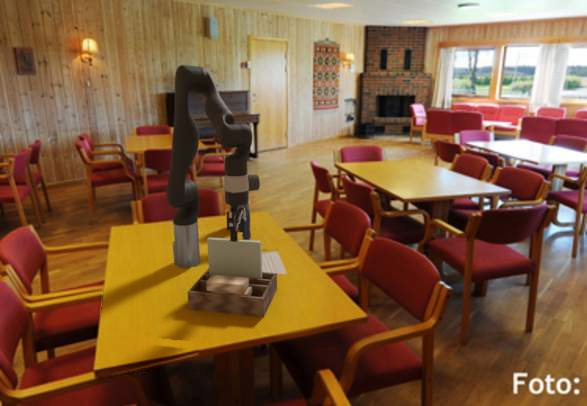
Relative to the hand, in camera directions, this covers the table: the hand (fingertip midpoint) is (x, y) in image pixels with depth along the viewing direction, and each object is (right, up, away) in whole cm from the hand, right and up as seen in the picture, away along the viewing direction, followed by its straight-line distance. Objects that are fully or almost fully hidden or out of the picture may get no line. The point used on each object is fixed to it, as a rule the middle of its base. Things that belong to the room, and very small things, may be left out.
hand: (238, 236), depth 142 cm
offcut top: (-2, -16, -6) cm, 17 cm away
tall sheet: (-1, -18, +6) cm, 19 cm away
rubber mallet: (-3, -6, +56) cm, 57 cm away
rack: (-1, -22, 0) cm, 22 cm away
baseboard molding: (+9, -15, +25) cm, 31 cm away
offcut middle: (-1, -19, -6) cm, 19 cm away
